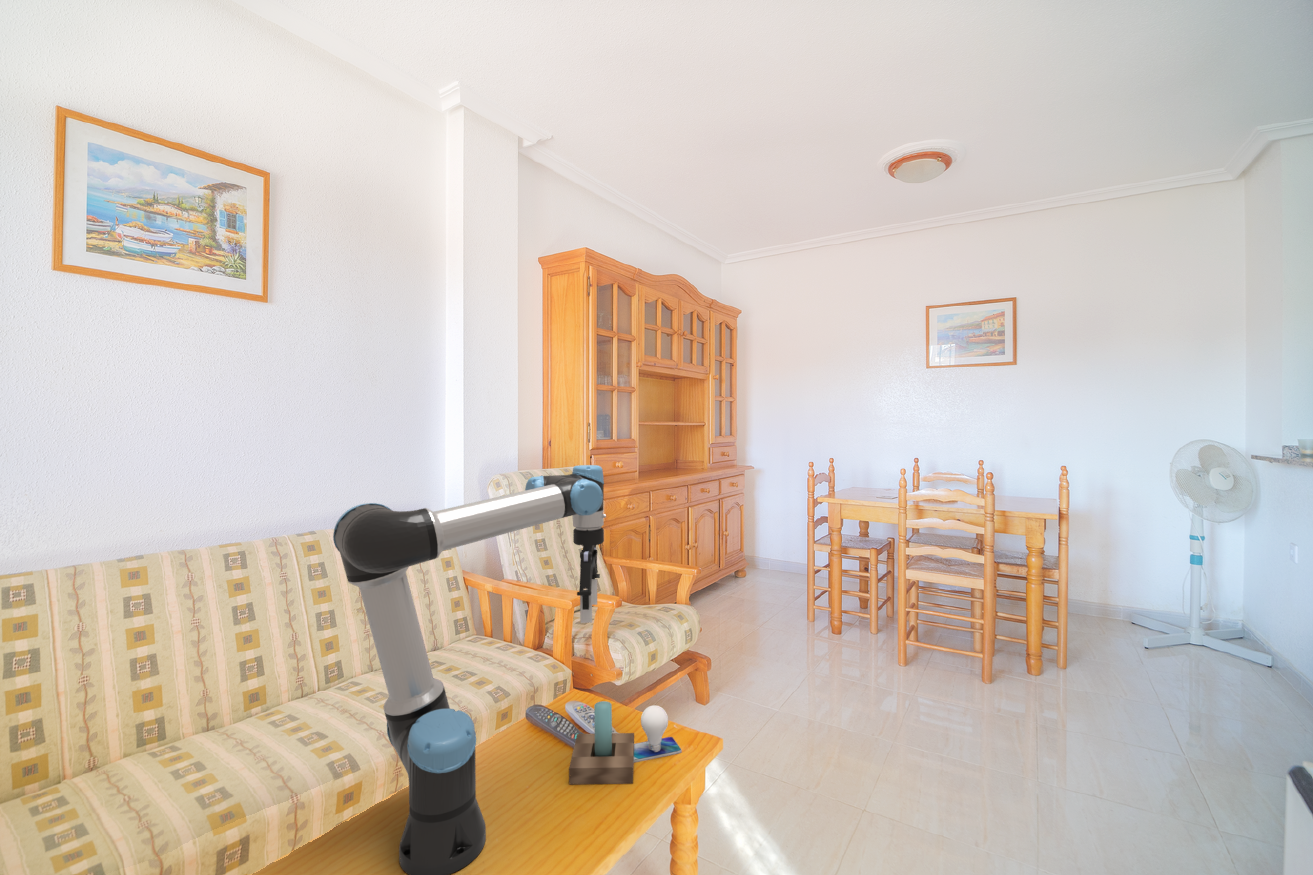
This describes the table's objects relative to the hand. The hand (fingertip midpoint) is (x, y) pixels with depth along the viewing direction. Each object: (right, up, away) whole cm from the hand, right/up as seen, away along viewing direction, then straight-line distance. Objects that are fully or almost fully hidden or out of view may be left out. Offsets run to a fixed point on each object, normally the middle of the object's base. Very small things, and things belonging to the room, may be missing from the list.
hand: (589, 612), depth 139 cm
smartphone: (+15, -33, -3) cm, 36 cm away
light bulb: (+16, -33, -3) cm, 37 cm away
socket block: (+4, -33, -9) cm, 34 cm away
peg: (+4, -33, -9) cm, 34 cm away
